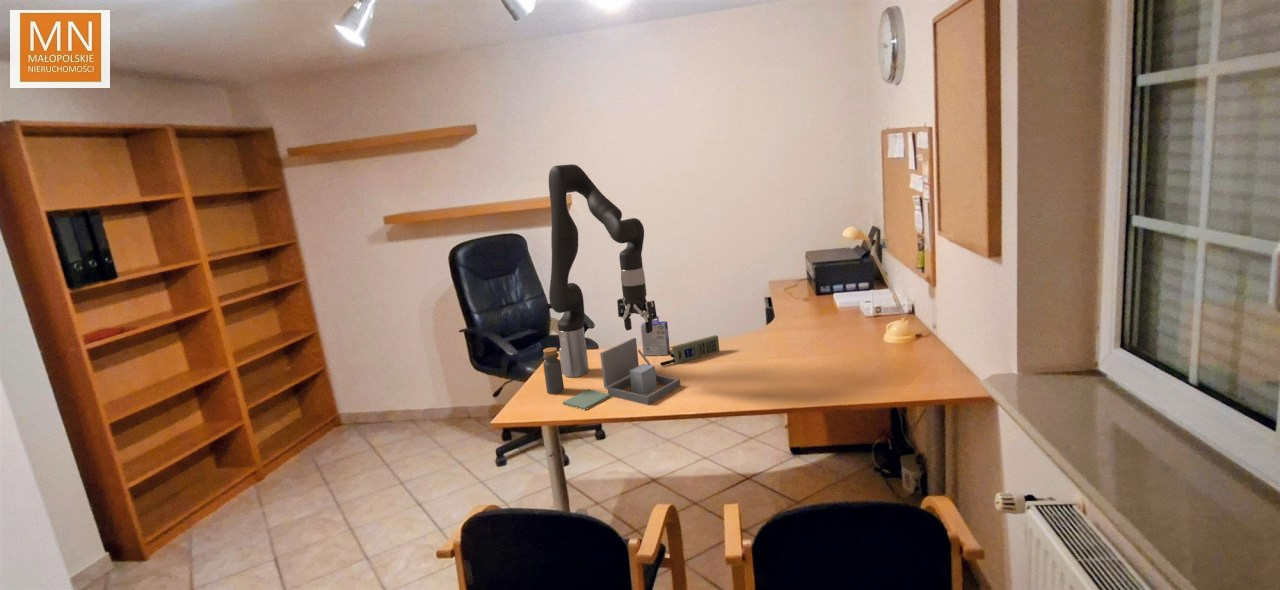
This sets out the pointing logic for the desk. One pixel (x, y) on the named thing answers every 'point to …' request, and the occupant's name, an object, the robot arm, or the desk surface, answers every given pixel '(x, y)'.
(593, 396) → the mat
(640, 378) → the block
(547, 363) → the bottle
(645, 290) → the robot arm
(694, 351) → the handheld radio
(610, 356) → the case
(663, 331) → the ink cartridge box
